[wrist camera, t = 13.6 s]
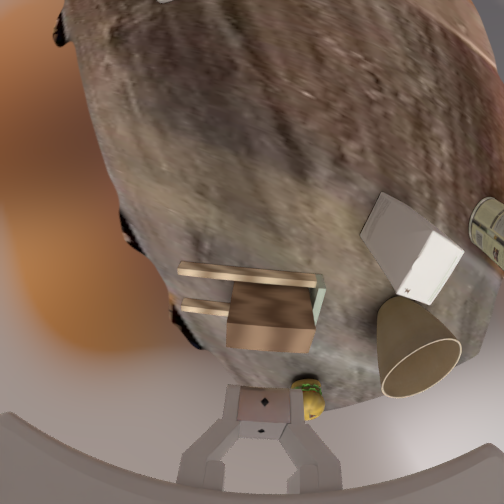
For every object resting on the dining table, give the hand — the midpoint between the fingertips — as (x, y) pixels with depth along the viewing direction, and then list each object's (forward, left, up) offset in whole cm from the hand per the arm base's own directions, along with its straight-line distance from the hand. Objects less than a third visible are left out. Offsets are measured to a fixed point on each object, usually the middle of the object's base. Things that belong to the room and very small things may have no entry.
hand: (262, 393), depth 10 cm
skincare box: (+16, +10, -31) cm, 36 cm away
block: (+13, -12, -31) cm, 36 cm away
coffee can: (+32, +28, -31) cm, 53 cm away
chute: (+10, -15, -31) cm, 36 cm away
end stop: (+19, -7, -31) cm, 37 cm away
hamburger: (+38, -24, -31) cm, 55 cm away
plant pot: (+34, +2, -31) cm, 46 cm away
